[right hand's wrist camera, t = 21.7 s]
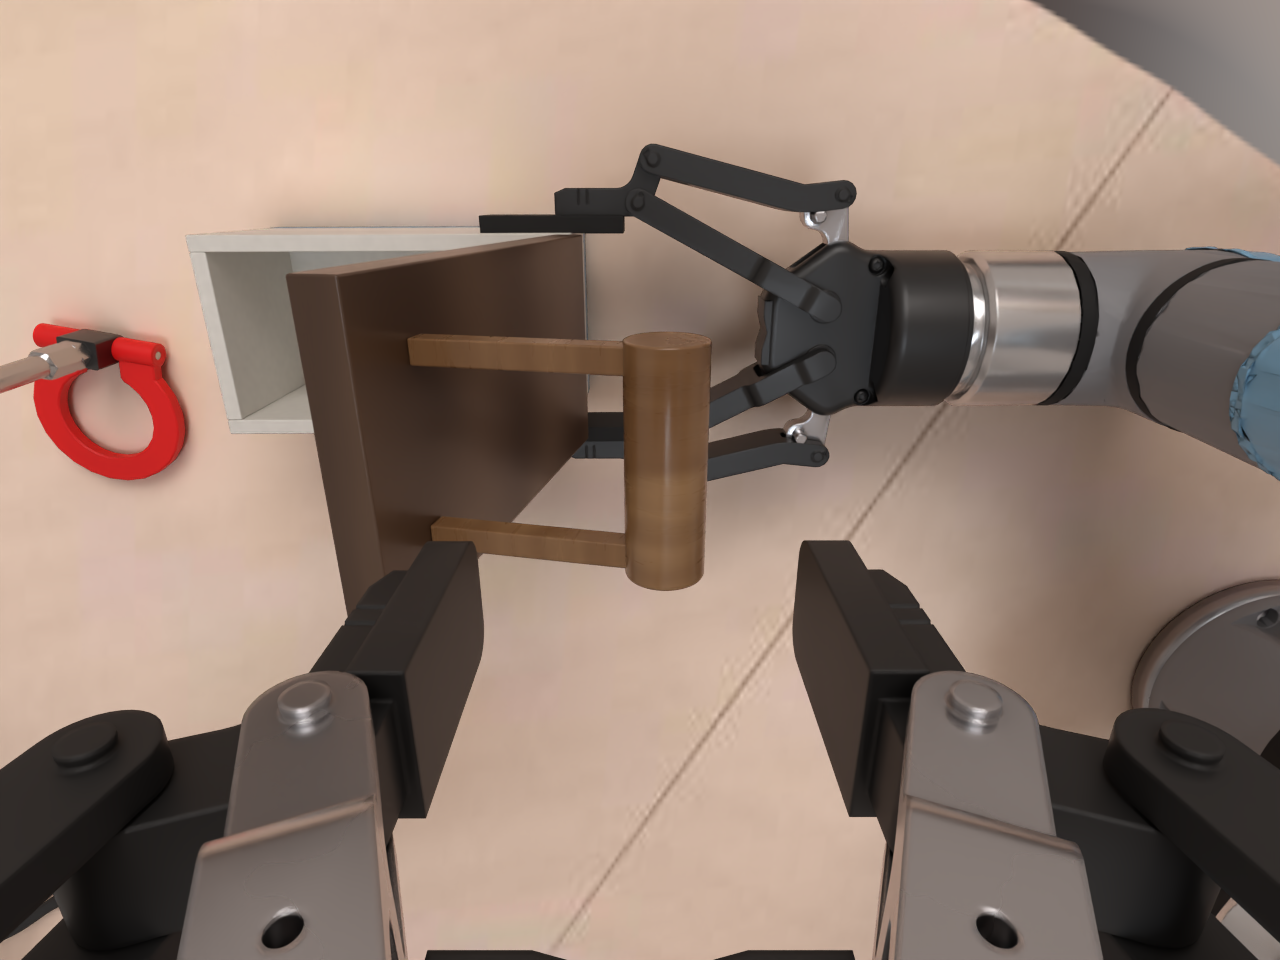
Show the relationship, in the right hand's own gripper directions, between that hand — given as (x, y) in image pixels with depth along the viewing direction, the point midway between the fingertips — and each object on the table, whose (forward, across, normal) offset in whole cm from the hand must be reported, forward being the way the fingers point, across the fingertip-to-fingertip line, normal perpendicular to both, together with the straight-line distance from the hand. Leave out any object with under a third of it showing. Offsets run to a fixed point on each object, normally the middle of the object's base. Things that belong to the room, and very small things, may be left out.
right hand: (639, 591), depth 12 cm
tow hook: (+32, -32, -6) cm, 45 cm away
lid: (+14, -6, 0) cm, 15 cm away
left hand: (+25, -7, 0) cm, 26 cm away
